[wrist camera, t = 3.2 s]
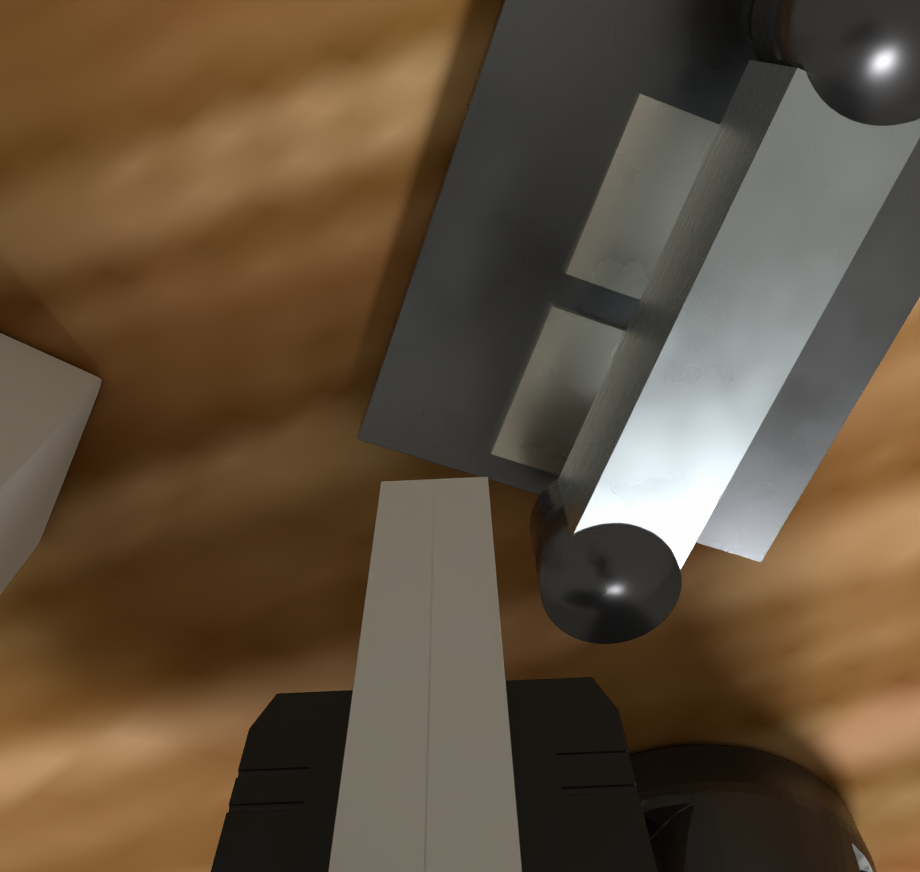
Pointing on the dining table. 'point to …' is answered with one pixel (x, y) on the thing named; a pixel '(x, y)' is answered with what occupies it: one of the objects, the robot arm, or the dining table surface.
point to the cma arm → (729, 305)
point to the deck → (605, 256)
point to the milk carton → (35, 443)
